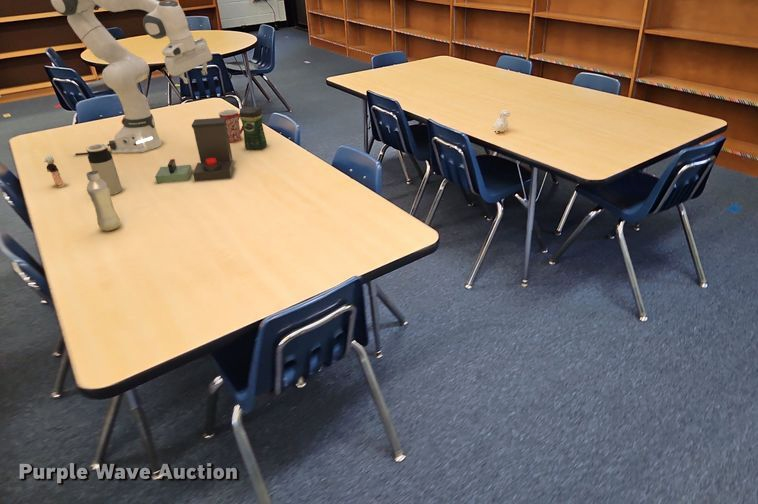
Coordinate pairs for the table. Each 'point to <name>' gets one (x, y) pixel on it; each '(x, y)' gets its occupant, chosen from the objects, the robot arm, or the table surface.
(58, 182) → the grandmother figurine
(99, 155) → the travel mug
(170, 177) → the panel
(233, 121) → the mug
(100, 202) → the plastic bottle
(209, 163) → the red button
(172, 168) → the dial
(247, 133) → the coffee jar
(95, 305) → the table surface
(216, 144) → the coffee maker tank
